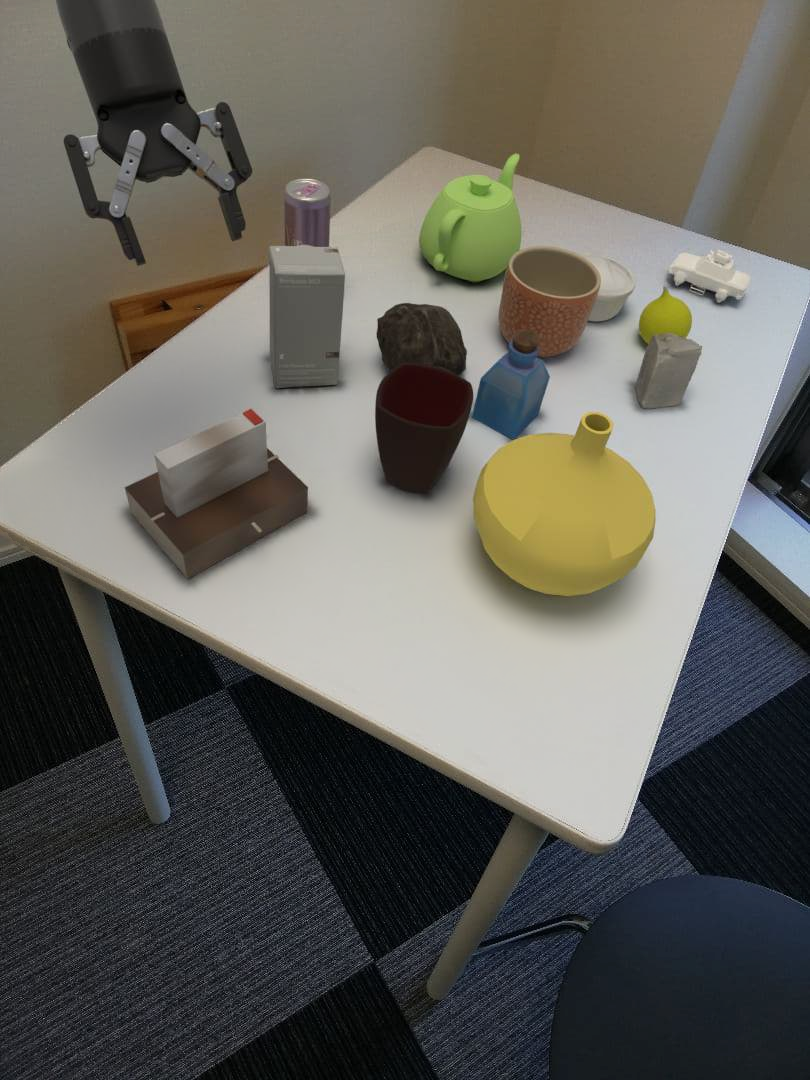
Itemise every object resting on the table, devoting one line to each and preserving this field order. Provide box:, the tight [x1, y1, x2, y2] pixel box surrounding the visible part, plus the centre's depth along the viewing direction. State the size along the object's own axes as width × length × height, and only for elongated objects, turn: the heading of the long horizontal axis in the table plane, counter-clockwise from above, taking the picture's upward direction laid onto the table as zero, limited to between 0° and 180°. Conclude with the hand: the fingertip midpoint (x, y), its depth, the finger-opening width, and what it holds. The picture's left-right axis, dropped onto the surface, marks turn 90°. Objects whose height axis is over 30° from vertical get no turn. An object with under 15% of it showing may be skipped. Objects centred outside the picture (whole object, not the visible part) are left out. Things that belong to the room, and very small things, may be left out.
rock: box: [376, 302, 468, 376], centre depth 98 cm, size 10×11×10 cm
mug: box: [374, 363, 474, 494], centre depth 86 cm, size 10×14×12 cm
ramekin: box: [577, 252, 636, 323], centre depth 113 cm, size 11×11×5 cm
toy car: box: [667, 249, 751, 304], centre depth 119 cm, size 6×12×7 cm, turn 60°
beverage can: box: [283, 178, 332, 247], centre depth 104 cm, size 6×6×15 cm
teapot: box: [418, 153, 522, 283], centre depth 115 cm, size 22×15×13 cm
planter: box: [498, 245, 601, 358], centre depth 104 cm, size 12×12×11 cm
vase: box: [472, 411, 656, 597], centre depth 76 cm, size 18×18×19 cm
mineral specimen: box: [634, 333, 703, 410], centre depth 101 cm, size 7×9×8 cm
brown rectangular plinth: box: [124, 447, 309, 580], centre depth 81 cm, size 15×15×4 cm
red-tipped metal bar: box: [154, 408, 268, 518], centre depth 77 cm, size 11×2×7 cm, turn 132°
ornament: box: [638, 280, 693, 345], centre depth 107 cm, size 7×7×10 cm
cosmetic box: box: [268, 245, 346, 389], centre depth 93 cm, size 8×7×16 cm
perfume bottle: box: [471, 329, 551, 441], centre depth 93 cm, size 6×6×12 cm
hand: (190, 251), depth 67 cm, fingers open, 8 cm apart
